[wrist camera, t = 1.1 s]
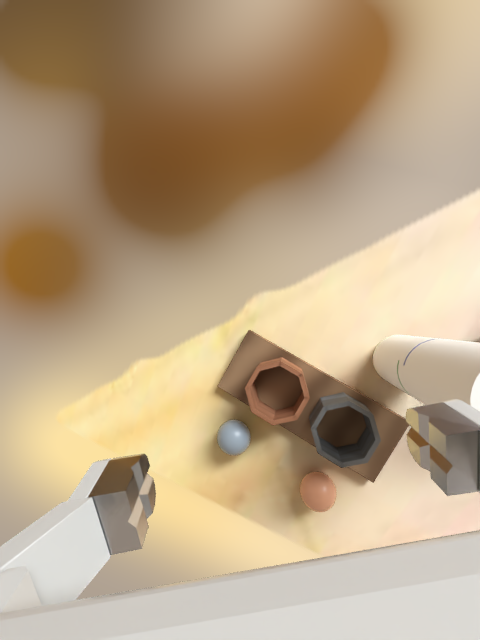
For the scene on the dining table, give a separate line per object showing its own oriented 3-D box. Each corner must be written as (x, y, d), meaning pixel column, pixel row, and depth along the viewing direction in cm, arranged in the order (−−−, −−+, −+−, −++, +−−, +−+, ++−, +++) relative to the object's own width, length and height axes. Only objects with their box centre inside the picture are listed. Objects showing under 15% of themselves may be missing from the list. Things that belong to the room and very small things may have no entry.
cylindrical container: (435, 348, 43) (625, 381, 18) (411, 393, 43) (565, 483, 19) (386, 326, 44) (502, 328, 19) (364, 369, 44) (449, 426, 20)
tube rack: (406, 419, 43) (425, 435, 37) (370, 477, 44) (383, 503, 38) (250, 330, 48) (243, 330, 41) (219, 384, 48) (208, 393, 42)
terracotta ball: (340, 477, 45) (345, 496, 40) (323, 505, 45) (326, 527, 40) (309, 458, 46) (311, 475, 41) (293, 486, 46) (293, 505, 41)
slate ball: (258, 426, 47) (254, 438, 42) (242, 453, 47) (236, 468, 43) (231, 409, 48) (223, 419, 43) (216, 436, 48) (207, 448, 43)
